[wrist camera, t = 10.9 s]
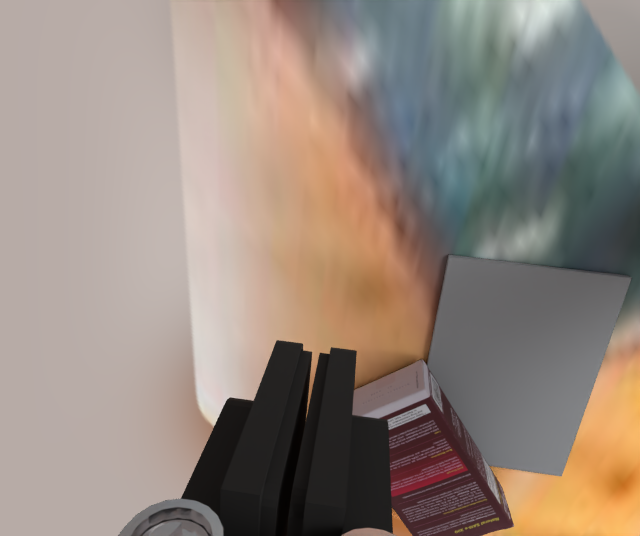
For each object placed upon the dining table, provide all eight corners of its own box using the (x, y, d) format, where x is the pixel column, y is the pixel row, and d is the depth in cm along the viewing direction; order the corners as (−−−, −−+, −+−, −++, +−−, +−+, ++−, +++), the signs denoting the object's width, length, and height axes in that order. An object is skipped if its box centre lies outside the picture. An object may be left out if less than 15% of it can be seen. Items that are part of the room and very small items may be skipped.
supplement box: (339, 392, 45) (421, 514, 48) (333, 426, 40) (424, 558, 44) (424, 355, 42) (504, 487, 46) (428, 387, 38) (516, 531, 41)
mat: (628, 275, 38) (631, 278, 37) (559, 472, 45) (561, 476, 45) (448, 254, 39) (449, 256, 38) (409, 450, 46) (409, 454, 46)
